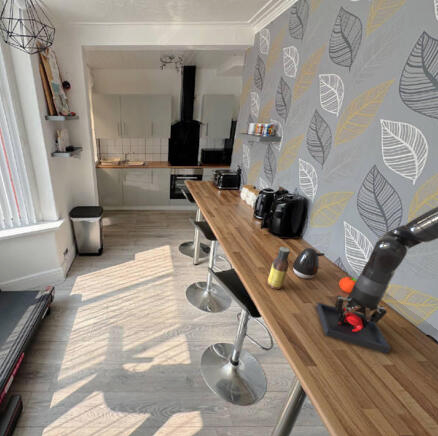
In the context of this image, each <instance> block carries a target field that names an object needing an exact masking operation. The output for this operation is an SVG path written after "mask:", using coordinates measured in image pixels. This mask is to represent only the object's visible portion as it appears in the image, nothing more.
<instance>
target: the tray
mask: <svg viewBox="0 0 438 436" xmlns="http://www.w3.org/2000/svg"><path fill="white" fill-rule="evenodd" d="M315 308H316V312H317V314H318V317H319V320H320V323H321V325H322V329H323V332H324V335H325V336H327V337H330V338H334V339H337V340H340V341H344V342H346V343H349V344H350V343H351V344H354V345H357V346H361V347H364V348H368V349H370V350H374V351H377V352H381V353H384V354H388V353H389V352H390V350H391V346H390V344H389V343H388V341H387V339H386V337H385V336H384V334H383V333H382V332H381V331H382V330H380V328H379V326H378V324H377V323H374V322H372V321H371V322H369V323H368V324H367V326H366V328H363V329H361V330H360V331H357V332H353V331H352V330H353V329H355V327H354V325H352V324H351V323H349V322H346V321H344V322H343V323H341V324H339V320H338V318H337V317H338V315H339V313H338V312H337V311H336V308H335V306H333V305H330V304H325V303H322V302H317V305H316V307H315ZM353 313H354V314H356V315H357V316H359V317H360V318H362V317H364V316H363V313H360V312H355V311H354V312H353Z"/></svg>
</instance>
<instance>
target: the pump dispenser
mask: <svg viewBox="0 0 438 436" xmlns="http://www.w3.org/2000/svg"><path fill="white" fill-rule="evenodd" d="M325 254H326V253H324V252H317V250H316V249H315V248H312V247H307V248H305V249H303V250H302V251H301V252H300V253H299V254H298V255H297V256H296V258H295V259H294V261H293V264H292V270H293V273H294V274H295V275H296V276H297V277H300V278H302V279H306V280H307V279H312V278H313V277H315V276H316V275H317V274H318V271H319V266H320V263H319V262H320V259H319V257H322V256H325Z"/></svg>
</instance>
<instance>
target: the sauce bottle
mask: <svg viewBox="0 0 438 436" xmlns="http://www.w3.org/2000/svg"><path fill="white" fill-rule="evenodd" d="M290 253H291V249H290V248H288V247H286V246H280V247H279V249H278V254H277V256H276V257H275V259H273V261H272V263H271V267H270V271H269V274H268V278H267V283H266V284H267V285H268V286H269V287H270V288H271V289H273V290H281V289H282V288H283V285H284V281H285V279H286V276H287V273H288V269H289V264H290V263H289V260H288V257H289V255H290Z"/></svg>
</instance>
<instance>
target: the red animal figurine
mask: <svg viewBox="0 0 438 436" xmlns="http://www.w3.org/2000/svg"><path fill="white" fill-rule="evenodd" d="M344 321H346V322H349V323H351V324H352V325H354V327H355V329H353V330H352V331H353V332H357V331H360V330H361V329H362V328H363V324H362V320H361V318H360V317H359V316H357V315H356V314H354V313H349V314H348V315H346V318H345V320H344ZM339 324H341V323H340V322H339Z"/></svg>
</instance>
